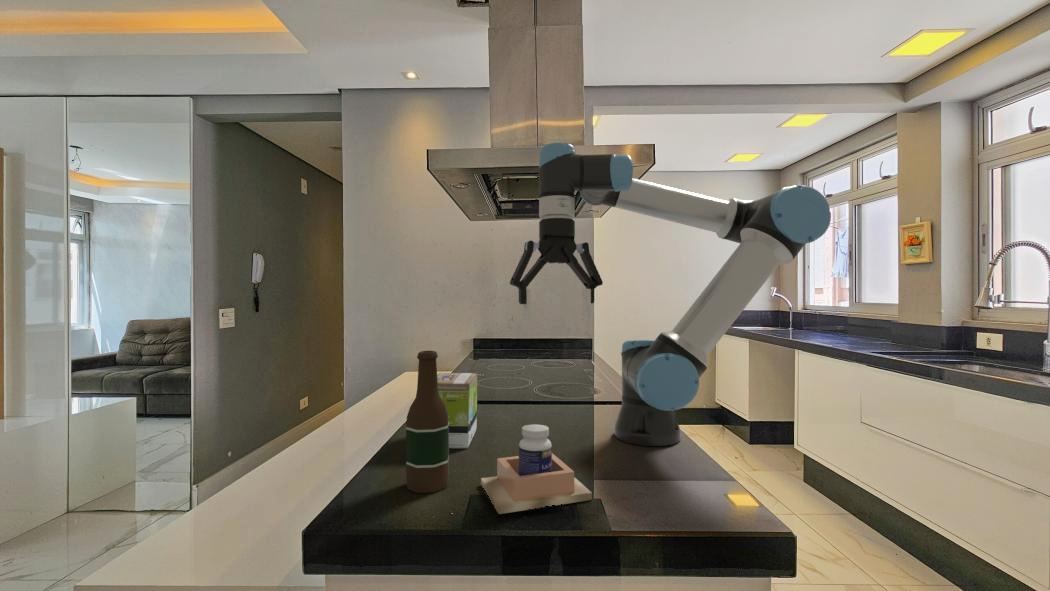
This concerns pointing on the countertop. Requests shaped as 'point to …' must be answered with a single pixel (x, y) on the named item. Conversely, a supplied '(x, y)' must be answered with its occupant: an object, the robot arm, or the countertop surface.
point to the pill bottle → (535, 450)
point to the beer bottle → (427, 432)
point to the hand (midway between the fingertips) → (557, 319)
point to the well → (534, 480)
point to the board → (507, 505)
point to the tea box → (459, 406)
